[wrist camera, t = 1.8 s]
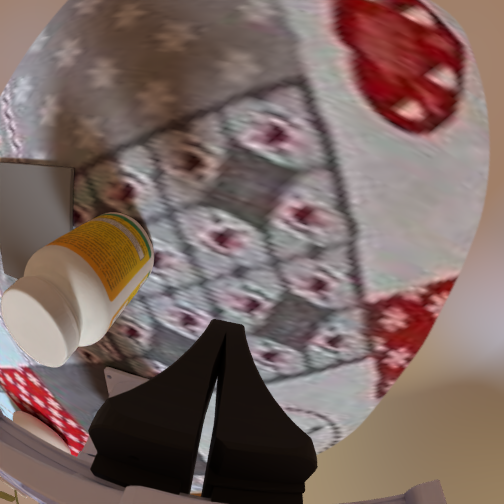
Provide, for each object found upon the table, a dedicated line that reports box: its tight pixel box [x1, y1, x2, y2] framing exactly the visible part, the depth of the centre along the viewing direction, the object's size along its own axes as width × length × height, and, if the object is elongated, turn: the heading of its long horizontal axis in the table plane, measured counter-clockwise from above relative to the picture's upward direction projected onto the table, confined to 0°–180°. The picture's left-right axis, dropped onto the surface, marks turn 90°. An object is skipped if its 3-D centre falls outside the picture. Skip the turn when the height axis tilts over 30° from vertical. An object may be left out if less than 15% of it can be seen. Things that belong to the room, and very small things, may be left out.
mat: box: [0, 162, 74, 279], centre depth 17 cm, size 10×9×1 cm
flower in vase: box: [0, 411, 71, 504], centre depth 19 cm, size 13×11×25 cm
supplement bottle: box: [1, 212, 154, 367], centre depth 13 cm, size 5×5×10 cm
